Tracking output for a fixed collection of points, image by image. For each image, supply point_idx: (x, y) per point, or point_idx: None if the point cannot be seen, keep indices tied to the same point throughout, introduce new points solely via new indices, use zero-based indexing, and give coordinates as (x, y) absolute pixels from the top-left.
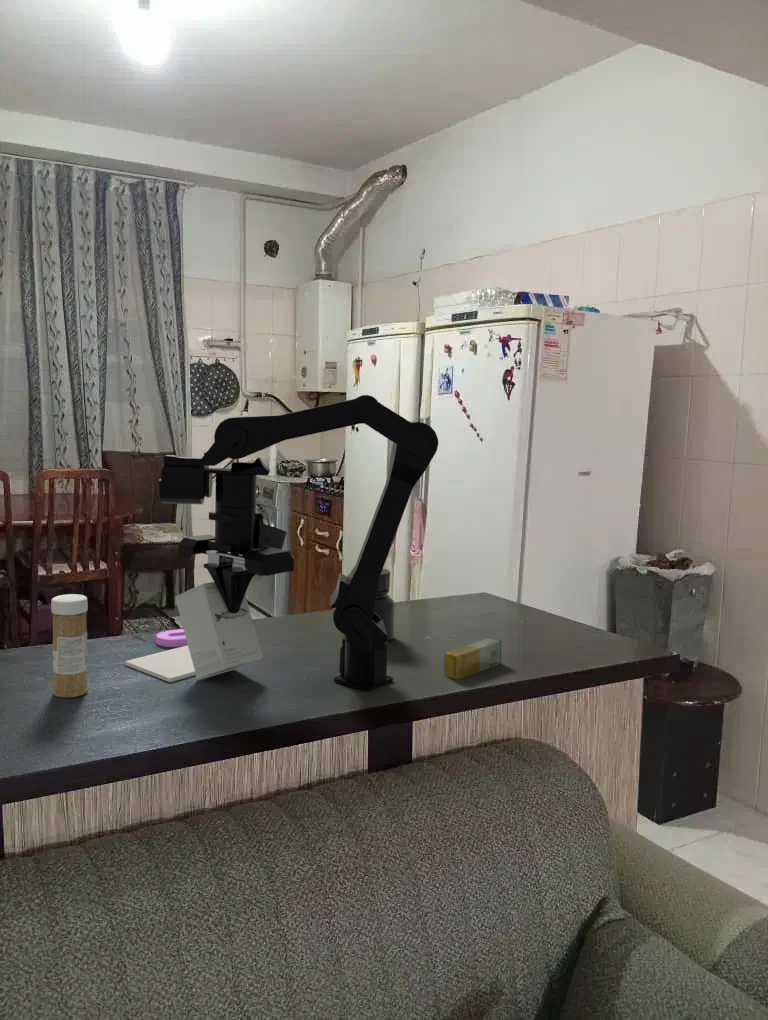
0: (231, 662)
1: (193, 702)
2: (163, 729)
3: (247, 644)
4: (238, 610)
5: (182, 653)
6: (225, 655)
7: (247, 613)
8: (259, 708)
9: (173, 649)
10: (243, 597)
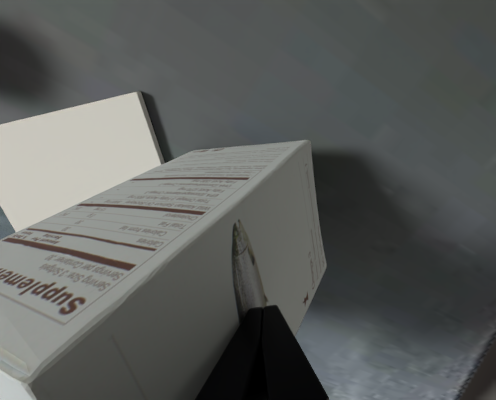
0: (321, 253)
1: (331, 304)
2: (400, 375)
3: (301, 207)
4: (280, 311)
5: (49, 212)
6: (317, 279)
7: (239, 224)
8: (451, 229)
9: (9, 215)
10: (308, 362)
